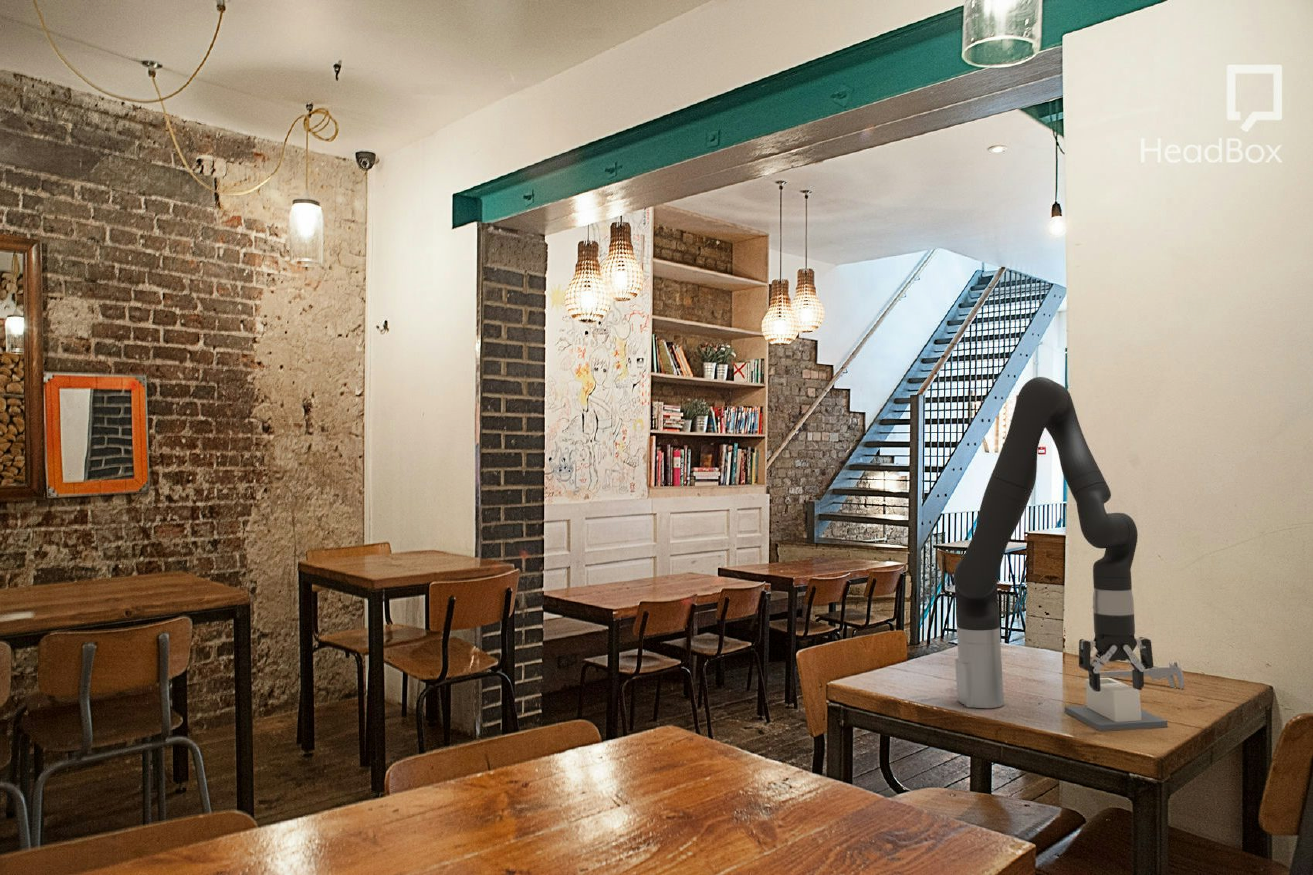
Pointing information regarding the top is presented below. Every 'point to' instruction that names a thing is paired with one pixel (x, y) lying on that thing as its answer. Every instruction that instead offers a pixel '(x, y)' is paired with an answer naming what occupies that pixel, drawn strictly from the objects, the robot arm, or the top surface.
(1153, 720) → the pin plate
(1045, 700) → the top surface
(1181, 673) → the caliper
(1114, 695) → the socket block
